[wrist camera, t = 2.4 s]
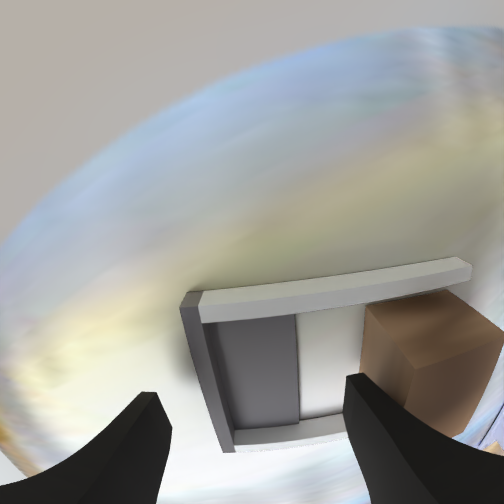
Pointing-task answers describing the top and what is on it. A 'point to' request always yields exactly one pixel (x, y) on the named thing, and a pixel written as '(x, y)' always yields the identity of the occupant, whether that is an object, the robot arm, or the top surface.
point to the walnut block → (431, 356)
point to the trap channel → (281, 348)
